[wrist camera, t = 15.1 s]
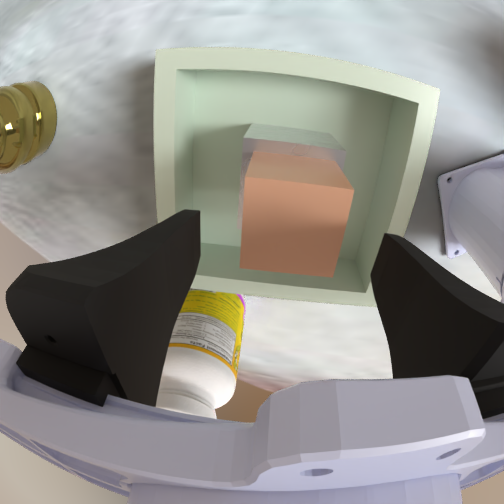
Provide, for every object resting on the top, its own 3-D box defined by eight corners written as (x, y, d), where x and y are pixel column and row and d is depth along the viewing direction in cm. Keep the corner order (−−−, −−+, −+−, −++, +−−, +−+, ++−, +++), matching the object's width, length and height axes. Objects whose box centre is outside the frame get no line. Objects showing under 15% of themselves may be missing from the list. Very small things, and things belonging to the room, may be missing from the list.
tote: (405, 85, 16) (440, 89, 12) (361, 266, 24) (375, 307, 20) (184, 55, 16) (155, 49, 12) (182, 246, 24) (163, 284, 20)
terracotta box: (335, 161, 14) (354, 190, 10) (322, 232, 16) (332, 277, 12) (253, 151, 14) (244, 177, 10) (248, 224, 16) (239, 268, 13)
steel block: (329, 133, 18) (346, 151, 13) (317, 203, 20) (327, 239, 16) (252, 123, 18) (243, 137, 13) (246, 194, 20) (236, 228, 16)
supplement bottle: (217, 332, 30) (192, 448, 19) (163, 296, 28) (115, 412, 17) (262, 298, 27) (250, 432, 16) (203, 254, 25) (156, 388, 14)
